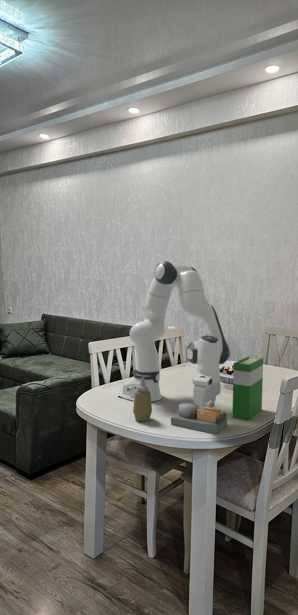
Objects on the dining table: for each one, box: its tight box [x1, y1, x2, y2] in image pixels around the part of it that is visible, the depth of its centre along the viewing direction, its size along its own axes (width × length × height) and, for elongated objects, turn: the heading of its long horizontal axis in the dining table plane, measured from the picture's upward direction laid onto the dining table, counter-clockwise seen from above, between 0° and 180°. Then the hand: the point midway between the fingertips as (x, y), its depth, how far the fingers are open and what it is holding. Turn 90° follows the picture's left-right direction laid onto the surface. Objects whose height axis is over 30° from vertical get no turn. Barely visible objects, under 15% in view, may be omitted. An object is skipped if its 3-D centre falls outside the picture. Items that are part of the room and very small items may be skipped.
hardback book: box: [231, 356, 264, 422], centre depth 179 cm, size 18×7×24 cm, turn 147°
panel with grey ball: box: [170, 402, 229, 435], centre depth 165 cm, size 20×12×7 cm, turn 60°
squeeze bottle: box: [132, 378, 153, 422], centre depth 170 cm, size 8×8×18 cm
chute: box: [196, 406, 221, 423], centre depth 163 cm, size 8×5×4 cm, turn 60°
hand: (207, 410), depth 163 cm, fingers open, 8 cm apart
